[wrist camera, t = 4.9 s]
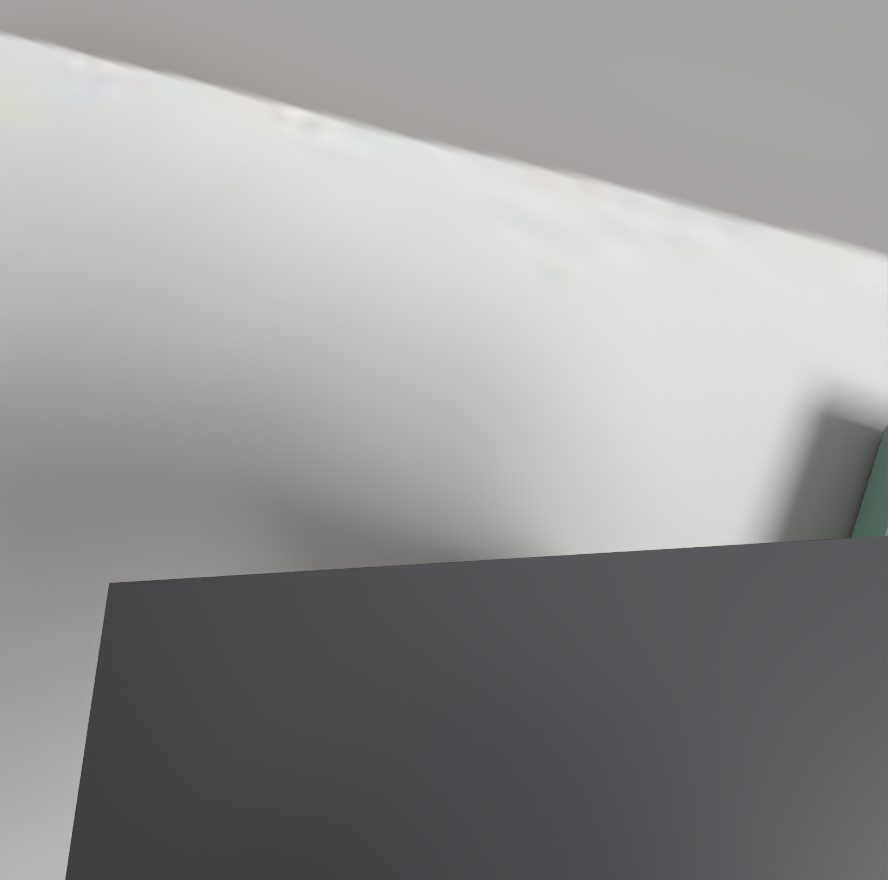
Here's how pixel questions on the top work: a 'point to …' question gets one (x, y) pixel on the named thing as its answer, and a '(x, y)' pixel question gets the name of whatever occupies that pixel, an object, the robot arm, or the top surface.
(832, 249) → the top surface
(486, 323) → the top surface
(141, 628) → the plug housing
